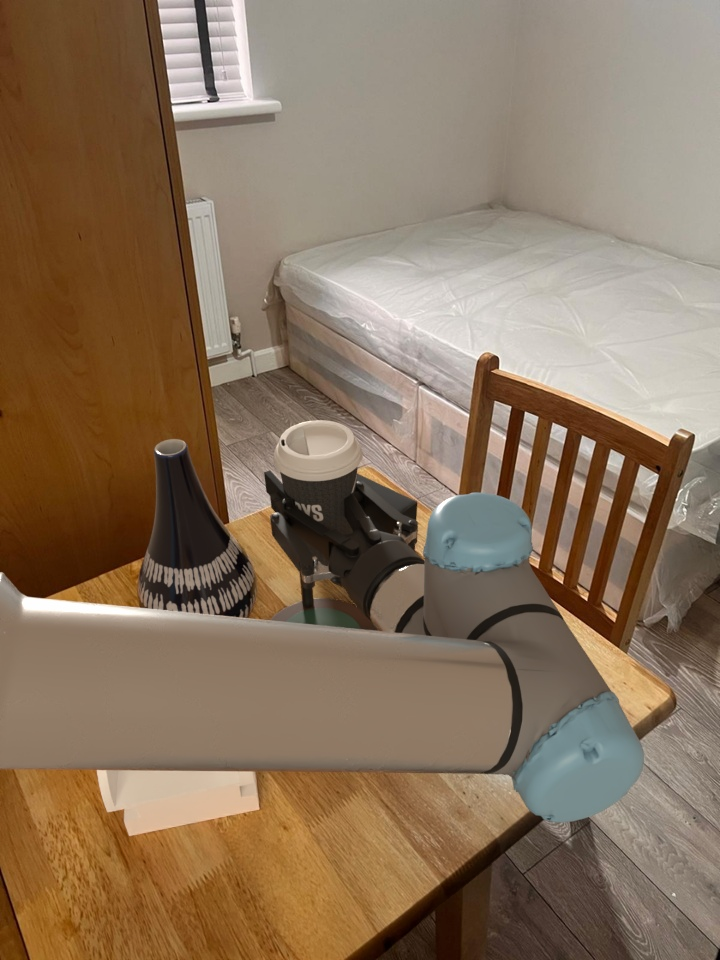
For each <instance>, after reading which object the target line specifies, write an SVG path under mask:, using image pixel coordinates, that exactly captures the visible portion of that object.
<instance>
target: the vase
mask: <svg viewBox="0 0 720 960" xmlns="http://www.w3.org/2000/svg"><path fill="white" fill-rule="evenodd" d="M153 457H154V468H155V469H154V470H155V509H154V519H153V523H152V529H151V534H150V537H149V541H148V544H147V547H146V551H145V554H144V556H143V559H142V562H141V566H140V569H139V573H138V577H137V584H136V585H137V586H136V594H137V602H138V608H147V609H157V610H168V611H178V612H188V613H199V614H209V615H219V616H229V617H240V618H249V617H250V615H251V614H252V612H253V610H254V607H255V605H256V602H257V598H258V592H259V584H258V583H259V582H258V576H257V572H256V568H255V566H254V563H253V561H252V558H251V557H250V555H249V553H248V552H247V550H246V549H245V547H243V545H242V544H241V542H240V541H239V540H238V539H237V538H236V536H234V535H233V533H232V532H231V531H230V530H229V529H228V527H227V526H226V525H225V524H224V522H223V521H222V520H221V518H220V517H219V516H218V514H217V513H216V511H215V509H214V508H213V506H212V505H211V503H210V501H209V499H208V496H207V494H206V492H205V491H204V488H203V486H202V483H201V481H200V479H199V477H198V474H197V471H196V468H195V466H194V463H193V460H192V457H191V454H190V450H189V445H188V444H187V442H185V440H182V439H179V438H171V439H165V440H162V441H160V442H159V443H157V444H156V445H155V446H154V448H153Z"/></svg>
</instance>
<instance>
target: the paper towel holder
mask: <svg viewBox="0 0 720 960" xmlns="http://www.w3.org/2000/svg"><path fill="white" fill-rule="evenodd" d="M298 572H299V571H298ZM299 583H300V584H299V585H300V594H301V600H300V601H298V602H294V603H292V604H290V605H287V606H285V607H284V608H282V609H281V610H279V611H278V612H276V613H275V614H274V615H273V616H272V617H271V618H270V619H269V620H271V621H281V622H291V623H302V624H312V625H322V626H333V627H343V628H353V629H363V630H374V631H378V629H377V628H376V627H375V626H374V625H373V623H372V621H370V620H369V619H368V618H367V617H366V616H365V615H364V614H363V612H362V611H361V610H360V609H359V608H358V607H357V605H356V604H354V603H351V602H349V601H346V600H341V599H338V598H331V597H317V598H314V587H313V588H312V589H306V588H304V587H303V584H302V577H301V573H300V572H299Z"/></svg>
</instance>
